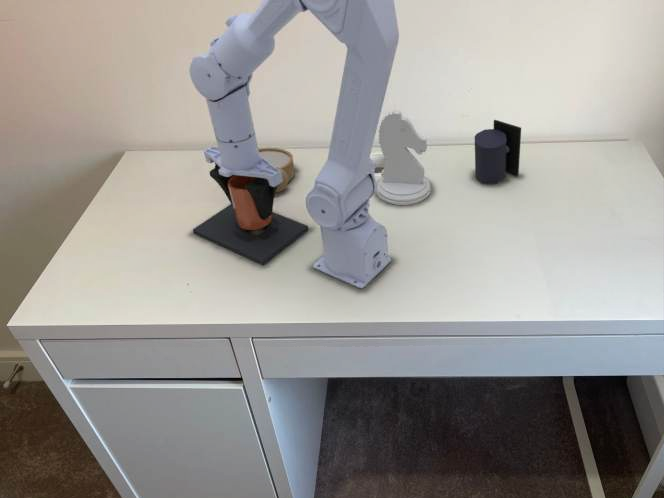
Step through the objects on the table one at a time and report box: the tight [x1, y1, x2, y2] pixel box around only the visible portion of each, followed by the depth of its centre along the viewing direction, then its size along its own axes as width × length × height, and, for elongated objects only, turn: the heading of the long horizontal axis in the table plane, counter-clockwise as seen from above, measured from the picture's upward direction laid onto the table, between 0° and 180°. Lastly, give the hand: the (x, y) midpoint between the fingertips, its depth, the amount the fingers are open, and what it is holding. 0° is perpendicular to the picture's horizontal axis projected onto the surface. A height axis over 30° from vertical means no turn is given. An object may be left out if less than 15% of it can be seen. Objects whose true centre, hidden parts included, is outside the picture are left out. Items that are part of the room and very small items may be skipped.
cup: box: [228, 175, 272, 231], centre depth 92 cm, size 6×6×8 cm
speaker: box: [474, 119, 522, 185], centre depth 103 cm, size 8×6×10 cm
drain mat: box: [192, 203, 309, 266], centre depth 96 cm, size 16×11×1 cm
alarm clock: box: [258, 147, 296, 194], centre depth 107 cm, size 11×5×15 cm
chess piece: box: [375, 109, 432, 206], centre depth 99 cm, size 10×10×15 cm
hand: (252, 210), depth 93 cm, fingers closed on cup, 5 cm apart
